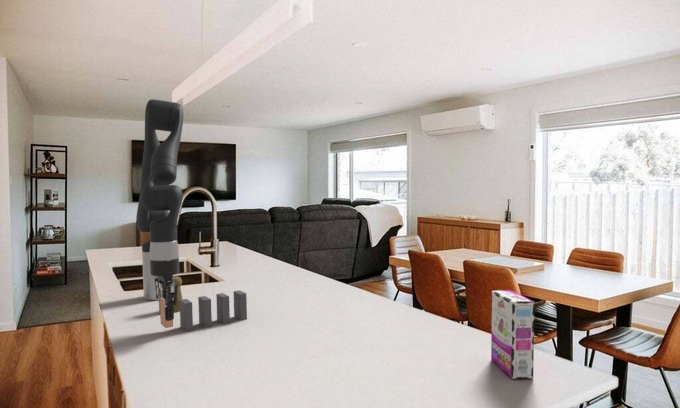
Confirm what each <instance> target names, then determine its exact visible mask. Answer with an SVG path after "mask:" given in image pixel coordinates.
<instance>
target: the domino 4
mask: <svg viewBox="0 0 680 408" xmlns="http://www.w3.org/2000/svg"><path fill="white" fill-rule="evenodd" d="M247 300H248V299H247V293H246V292H244V291H242V290H234V291H233V317H234V318H236V319H237V320H239V321H245V320H248V311H247V309H248V308H247V307H248V305H247V303H248V302H247Z"/></svg>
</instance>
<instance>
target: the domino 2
mask: <svg viewBox="0 0 680 408" xmlns="http://www.w3.org/2000/svg"><path fill="white" fill-rule="evenodd" d="M197 299H198V321H199V322H198V324H199V325H200V324H201V326H202V327H203V326H204V329H206V327H207V328H211V326H212V327H213V325H212V323H213V322H212V321H213V320H212V318H213V317H212V299H211V298H210V297H208V296H206V295H201V296H198V297H197Z"/></svg>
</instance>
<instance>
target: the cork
mask: <svg viewBox="0 0 680 408" xmlns="http://www.w3.org/2000/svg"><path fill="white" fill-rule="evenodd" d="M172 277H173V281H174V282H175V285H177V304H176V305H174V313H180V300H183V299H184V298H183V294H182V293H183V292H182V289H181V286H182V284H183V280H182V278H181V277H180V276H175V275H173V276H172Z"/></svg>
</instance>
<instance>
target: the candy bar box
mask: <svg viewBox="0 0 680 408" xmlns="http://www.w3.org/2000/svg"><path fill="white" fill-rule="evenodd" d="M490 336H491V341H490V342H491V345H490V346H491V347H490V349H491V353H490V354H491V355H490V357H491V359H490V360H491V361H492V362H493V363H494V364H495V365H496V366H497V367H498V368H499V369H500V370H501V371H502V372H503V373H505V374H506V375H507V376H508V377H509V378H510V379H512V380H530V379H531V380H532V379H534V354H535V352H534V351H535V350H534V349H535V344H534V343H535V342H534V341H535V340H534V339H535V301H533V300H531V299H529V298H527V297H526V296H524V295H522V294H520V293H517V292H516V291H513V290H510V289H500V290H498V289H497V290H492V291H491V335H490Z"/></svg>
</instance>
